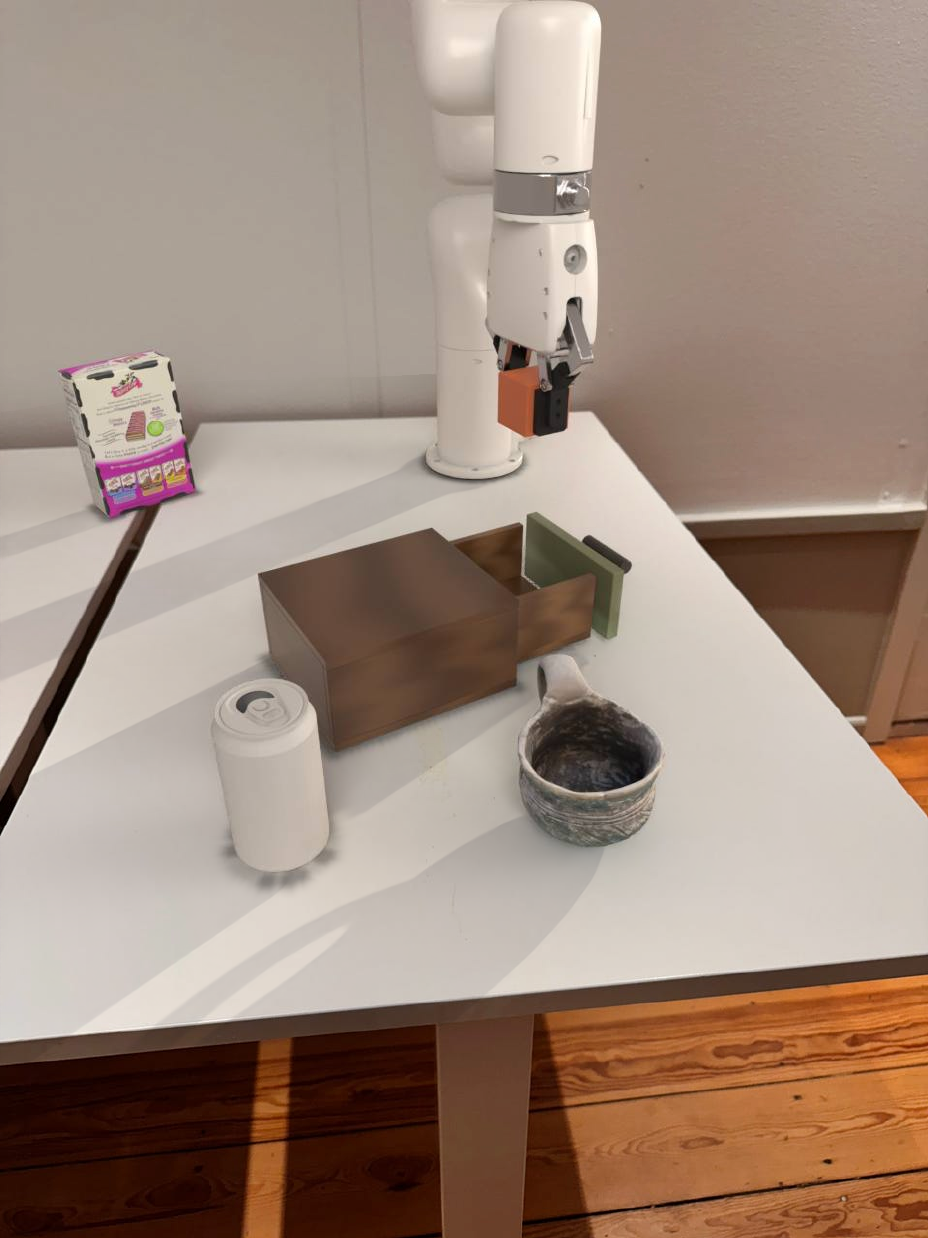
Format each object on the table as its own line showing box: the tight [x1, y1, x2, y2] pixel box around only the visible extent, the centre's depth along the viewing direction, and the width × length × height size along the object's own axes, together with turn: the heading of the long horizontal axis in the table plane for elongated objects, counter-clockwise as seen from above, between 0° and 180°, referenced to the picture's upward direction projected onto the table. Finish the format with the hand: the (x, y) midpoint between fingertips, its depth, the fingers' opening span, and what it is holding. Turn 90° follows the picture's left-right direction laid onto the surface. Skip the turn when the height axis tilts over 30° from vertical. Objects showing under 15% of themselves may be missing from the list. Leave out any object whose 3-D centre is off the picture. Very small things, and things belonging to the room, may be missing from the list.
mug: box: [517, 653, 666, 848], centre depth 60 cm, size 10×12×10 cm
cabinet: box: [257, 527, 520, 753], centre depth 74 cm, size 17×15×9 cm
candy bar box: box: [57, 349, 197, 519], centre depth 101 cm, size 11×5×16 cm, turn 131°
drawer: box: [448, 511, 633, 664], centre depth 80 cm, size 20×13×7 cm
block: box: [497, 364, 571, 438], centre depth 77 cm, size 4×4×4 cm
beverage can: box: [210, 677, 330, 873], centre depth 57 cm, size 6×6×12 cm
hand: (532, 421), depth 78 cm, fingers closed on block, 4 cm apart
